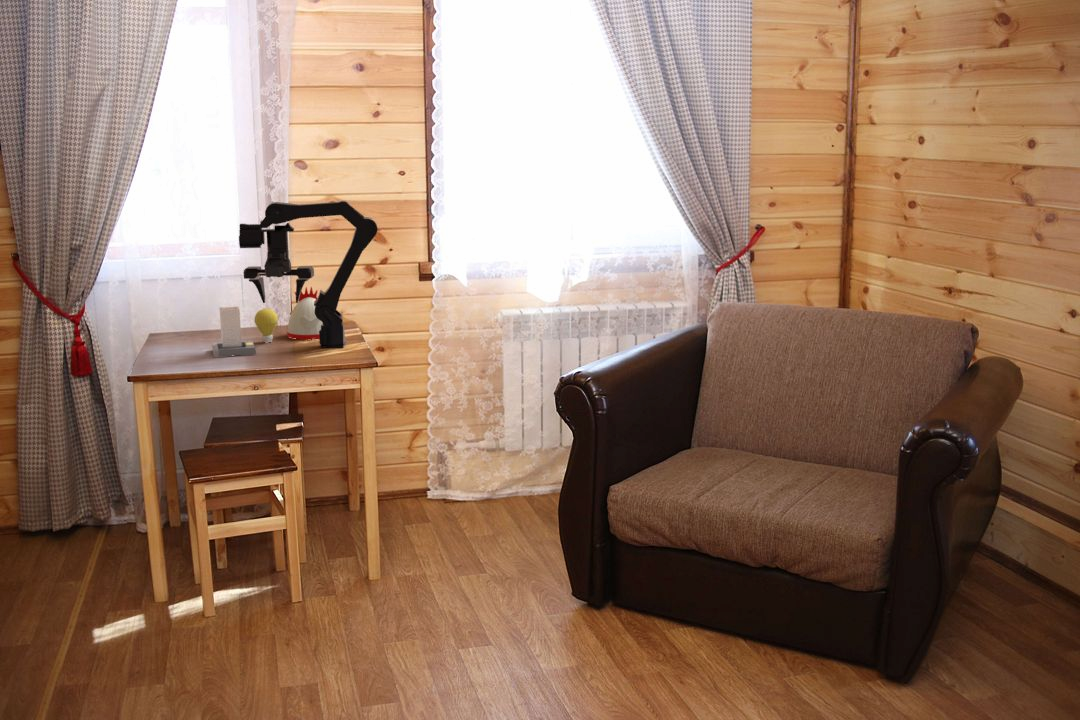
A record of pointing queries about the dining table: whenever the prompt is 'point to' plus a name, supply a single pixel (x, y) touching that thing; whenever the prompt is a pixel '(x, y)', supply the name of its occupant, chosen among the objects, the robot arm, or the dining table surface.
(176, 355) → the dining table surface
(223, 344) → the rectangular block post
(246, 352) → the plate
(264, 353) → the dining table surface
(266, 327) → the light bulb
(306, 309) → the kitchen timer
